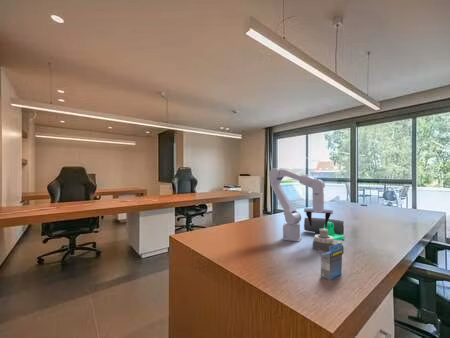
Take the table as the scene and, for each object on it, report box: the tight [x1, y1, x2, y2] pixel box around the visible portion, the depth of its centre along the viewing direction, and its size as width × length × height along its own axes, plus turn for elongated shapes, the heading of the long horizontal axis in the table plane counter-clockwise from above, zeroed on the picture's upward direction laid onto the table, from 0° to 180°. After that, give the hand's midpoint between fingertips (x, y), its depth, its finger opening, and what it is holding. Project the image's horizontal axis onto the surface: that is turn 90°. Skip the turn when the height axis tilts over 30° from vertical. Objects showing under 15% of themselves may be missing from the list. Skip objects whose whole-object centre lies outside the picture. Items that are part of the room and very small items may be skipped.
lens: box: [319, 228, 328, 238], centre depth 117 cm, size 4×4×6 cm
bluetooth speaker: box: [303, 217, 345, 236], centre depth 143 cm, size 23×9×10 cm, turn 61°
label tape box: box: [320, 243, 343, 281], centre depth 85 cm, size 9×4×12 cm, turn 126°
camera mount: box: [324, 222, 345, 241], centre depth 131 cm, size 12×8×10 cm, turn 122°
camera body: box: [312, 234, 344, 254], centre depth 117 cm, size 14×9×6 cm, turn 62°
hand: (318, 226), depth 123 cm, fingers open, 7 cm apart
